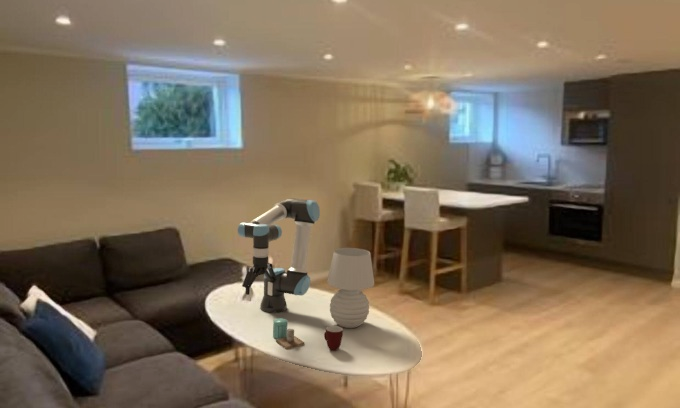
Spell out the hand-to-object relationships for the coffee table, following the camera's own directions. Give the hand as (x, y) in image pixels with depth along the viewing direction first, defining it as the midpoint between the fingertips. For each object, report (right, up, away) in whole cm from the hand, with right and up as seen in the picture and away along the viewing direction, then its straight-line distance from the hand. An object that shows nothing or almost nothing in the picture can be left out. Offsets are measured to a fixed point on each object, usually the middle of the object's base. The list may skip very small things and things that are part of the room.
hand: (259, 297), depth 255 cm
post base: (+16, -21, -5) cm, 27 cm away
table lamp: (+45, -19, +23) cm, 53 cm away
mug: (+36, -23, -9) cm, 43 cm away
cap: (+10, -20, +3) cm, 22 cm away
